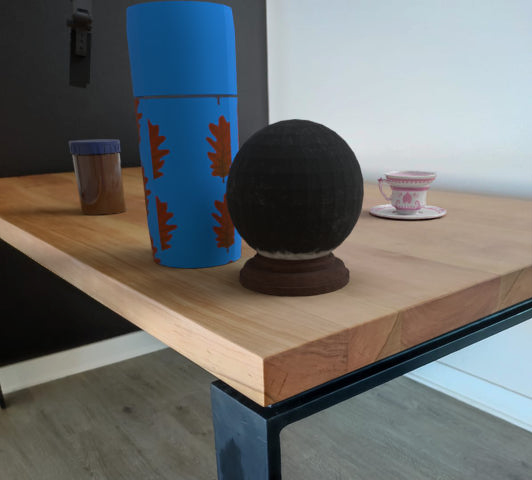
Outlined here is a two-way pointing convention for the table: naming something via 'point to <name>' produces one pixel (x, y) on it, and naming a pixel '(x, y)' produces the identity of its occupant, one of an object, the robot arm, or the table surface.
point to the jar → (99, 183)
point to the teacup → (408, 196)
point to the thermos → (186, 127)
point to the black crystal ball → (294, 207)
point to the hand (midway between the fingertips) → (78, 85)
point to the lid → (94, 146)
